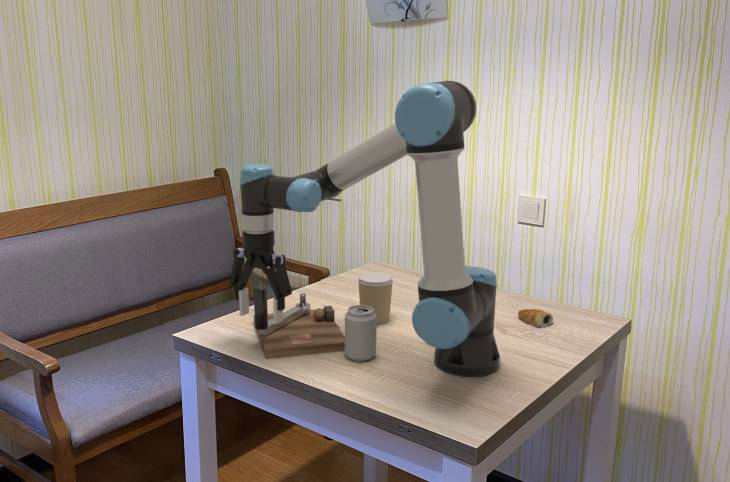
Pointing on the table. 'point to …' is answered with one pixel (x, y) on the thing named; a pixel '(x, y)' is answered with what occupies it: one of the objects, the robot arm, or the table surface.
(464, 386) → the table surface
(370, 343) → the can
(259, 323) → the lever
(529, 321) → the pastry
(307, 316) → the nutcracker board
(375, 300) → the coffee cup
